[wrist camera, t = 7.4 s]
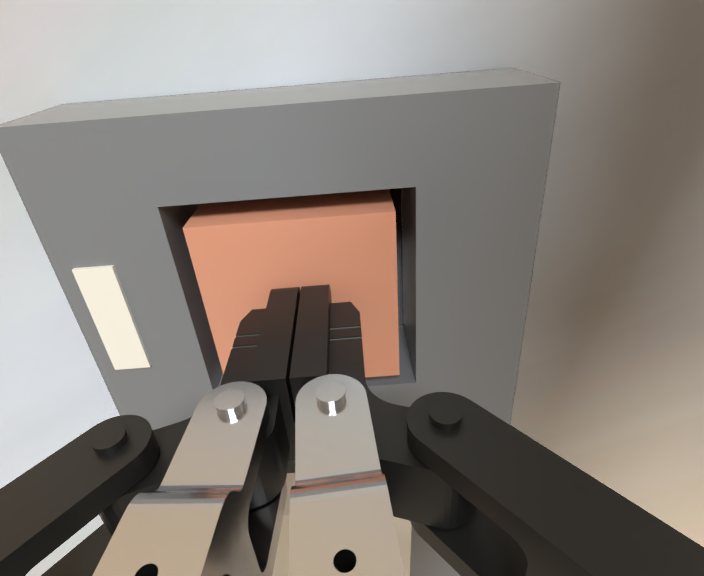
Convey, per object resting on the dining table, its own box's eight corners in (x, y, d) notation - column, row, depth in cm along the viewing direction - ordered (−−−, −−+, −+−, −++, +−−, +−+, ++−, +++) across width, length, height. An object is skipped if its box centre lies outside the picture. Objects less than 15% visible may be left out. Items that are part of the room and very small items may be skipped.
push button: (210, 189, 13) (182, 228, 11) (384, 175, 13) (395, 211, 11) (243, 330, 16) (227, 387, 13) (389, 319, 16) (399, 375, 13)
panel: (62, 104, 12) (-31, 134, 9) (512, 67, 12) (572, 86, 9) (242, 592, 25) (228, 674, 22) (463, 577, 25) (481, 657, 22)
